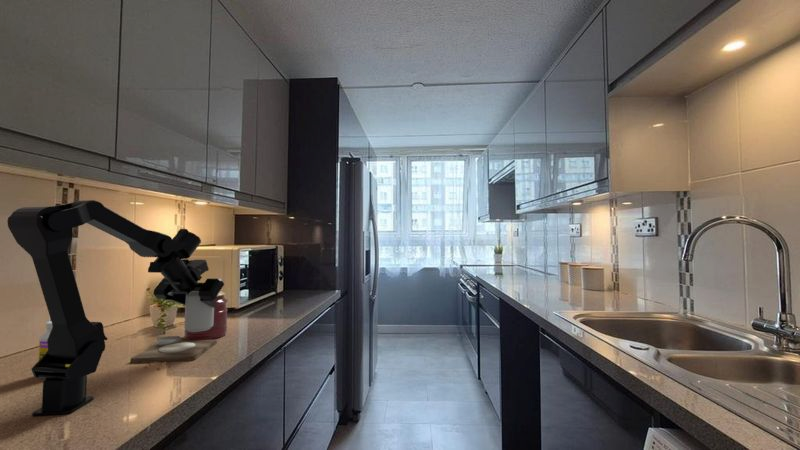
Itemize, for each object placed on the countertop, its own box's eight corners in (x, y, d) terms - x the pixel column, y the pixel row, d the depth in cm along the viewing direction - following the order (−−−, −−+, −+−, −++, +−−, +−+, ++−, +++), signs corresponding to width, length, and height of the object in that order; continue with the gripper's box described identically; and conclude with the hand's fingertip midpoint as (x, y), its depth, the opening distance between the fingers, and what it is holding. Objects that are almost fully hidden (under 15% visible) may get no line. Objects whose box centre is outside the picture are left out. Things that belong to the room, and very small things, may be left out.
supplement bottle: (29, 380, 82) (32, 324, 82) (49, 370, 88) (52, 319, 89) (64, 377, 83) (67, 323, 84) (81, 368, 90) (83, 317, 90)
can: (204, 332, 100) (206, 290, 100) (178, 332, 100) (180, 290, 101) (218, 326, 107) (219, 287, 108) (194, 326, 107) (195, 287, 108)
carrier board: (194, 359, 96) (194, 349, 96) (130, 362, 93) (130, 352, 94) (217, 342, 112) (217, 334, 112) (163, 345, 110) (163, 336, 110)
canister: (200, 343, 112) (201, 287, 113) (175, 338, 117) (176, 285, 118) (235, 333, 123) (236, 283, 124) (210, 329, 129) (212, 281, 130)
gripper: (221, 250, 100) (243, 285, 110) (163, 250, 103) (190, 284, 113) (199, 280, 91) (226, 315, 101) (138, 279, 94) (169, 313, 104)
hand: (203, 305), depth 105 cm, fingers closed on can, 7 cm apart
